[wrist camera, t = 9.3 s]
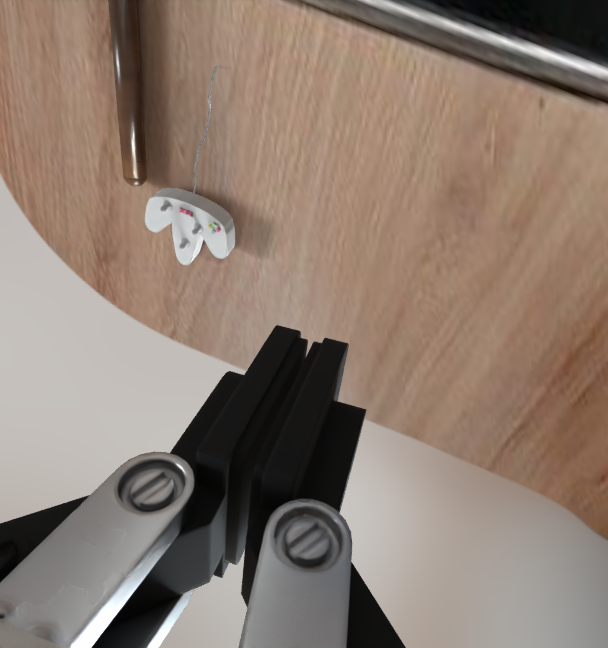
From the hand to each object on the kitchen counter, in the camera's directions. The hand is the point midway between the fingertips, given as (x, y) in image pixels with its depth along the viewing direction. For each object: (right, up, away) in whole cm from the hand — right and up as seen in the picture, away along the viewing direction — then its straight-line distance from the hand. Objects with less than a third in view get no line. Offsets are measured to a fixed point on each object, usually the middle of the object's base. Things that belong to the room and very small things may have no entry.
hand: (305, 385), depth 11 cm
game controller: (-6, +11, +19) cm, 23 cm away
